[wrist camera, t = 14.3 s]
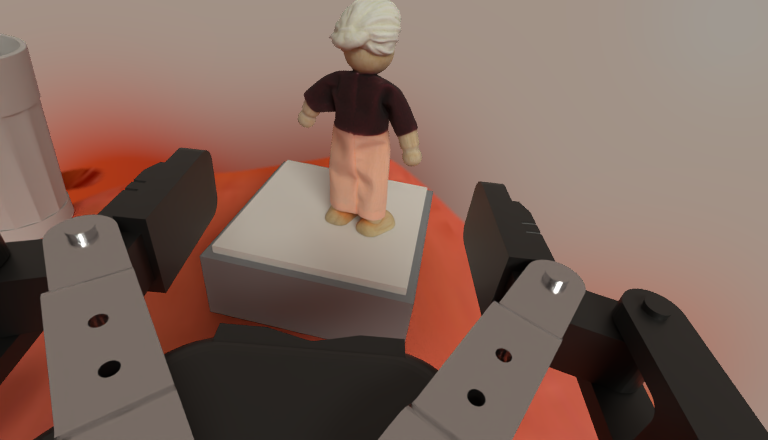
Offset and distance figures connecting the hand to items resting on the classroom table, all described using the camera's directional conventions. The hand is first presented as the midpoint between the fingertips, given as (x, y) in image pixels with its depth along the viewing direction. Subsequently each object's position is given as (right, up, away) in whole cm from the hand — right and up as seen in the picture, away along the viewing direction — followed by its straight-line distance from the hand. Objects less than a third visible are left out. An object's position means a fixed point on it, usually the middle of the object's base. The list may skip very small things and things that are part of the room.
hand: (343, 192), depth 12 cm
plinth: (-3, -4, +17) cm, 18 cm away
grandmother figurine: (-1, -1, +14) cm, 14 cm away
